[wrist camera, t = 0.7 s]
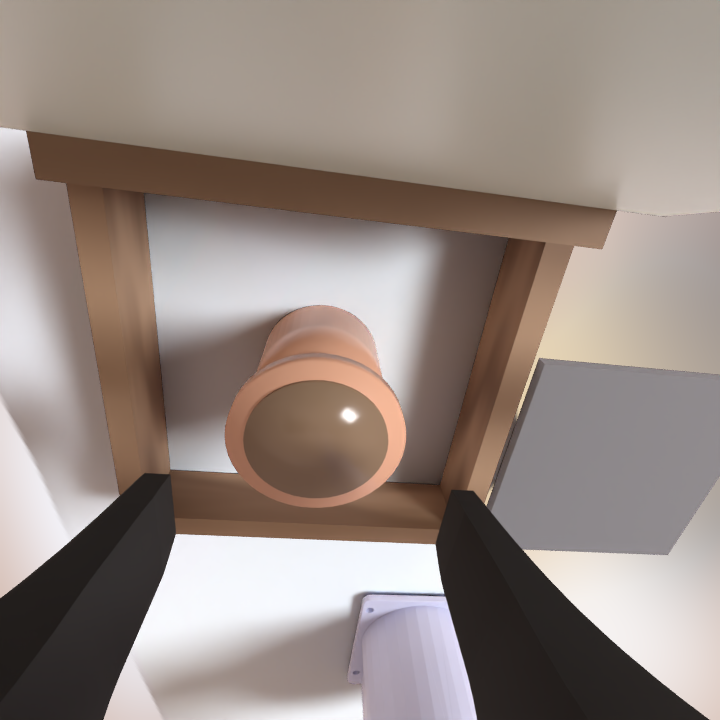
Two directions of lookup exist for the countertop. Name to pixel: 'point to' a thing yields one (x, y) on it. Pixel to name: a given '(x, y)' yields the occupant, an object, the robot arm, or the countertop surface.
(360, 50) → the frame lid
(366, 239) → the countertop surface
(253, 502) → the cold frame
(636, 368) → the slate mat
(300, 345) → the pot
